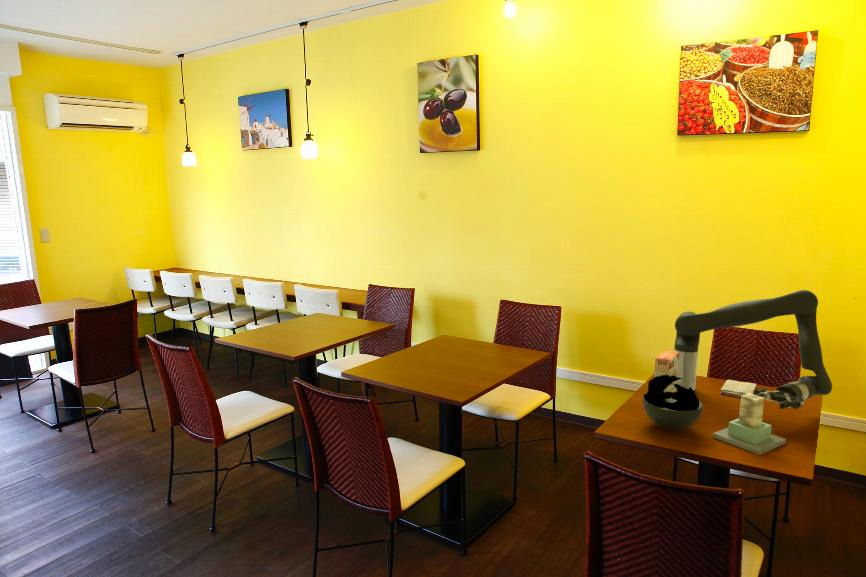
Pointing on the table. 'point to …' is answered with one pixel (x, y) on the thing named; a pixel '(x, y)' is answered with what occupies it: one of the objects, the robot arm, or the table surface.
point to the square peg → (751, 411)
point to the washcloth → (737, 388)
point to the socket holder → (750, 437)
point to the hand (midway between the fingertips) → (767, 402)
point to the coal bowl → (671, 404)
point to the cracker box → (667, 367)
